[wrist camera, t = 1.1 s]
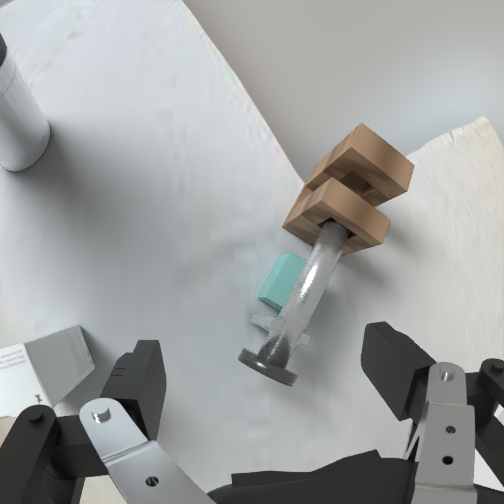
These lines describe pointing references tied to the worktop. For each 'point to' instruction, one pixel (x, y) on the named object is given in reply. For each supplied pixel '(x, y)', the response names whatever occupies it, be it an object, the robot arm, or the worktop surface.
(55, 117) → the worktop surface
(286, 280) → the block
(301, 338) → the shaft
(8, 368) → the skincare box
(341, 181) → the bearing stand
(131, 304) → the worktop surface
